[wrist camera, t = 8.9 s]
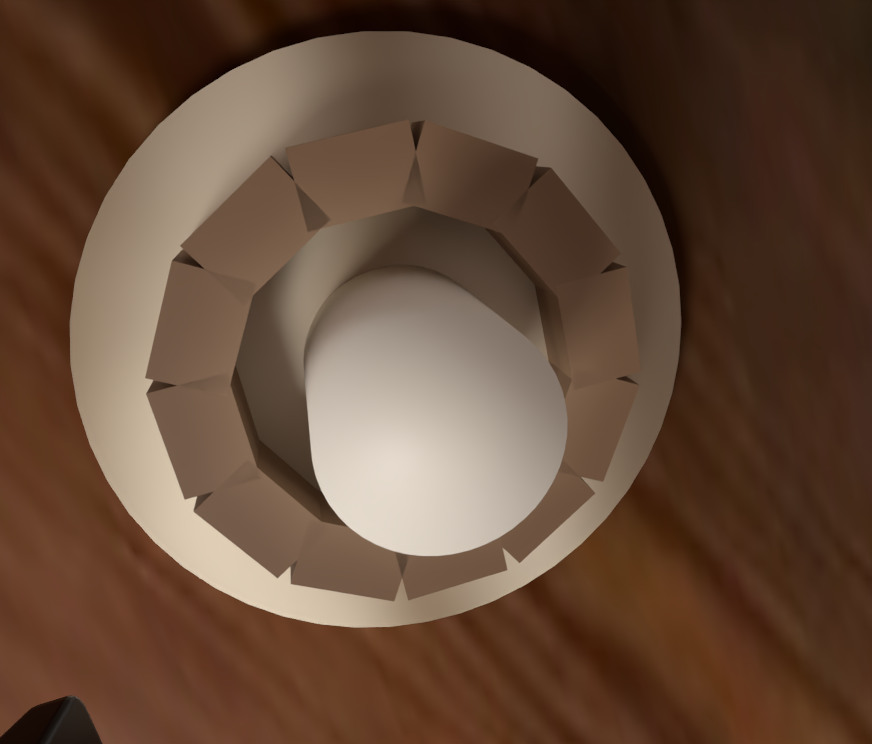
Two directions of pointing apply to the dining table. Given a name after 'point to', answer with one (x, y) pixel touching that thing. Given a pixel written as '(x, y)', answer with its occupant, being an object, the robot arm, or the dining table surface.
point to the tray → (335, 265)
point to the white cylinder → (428, 413)
